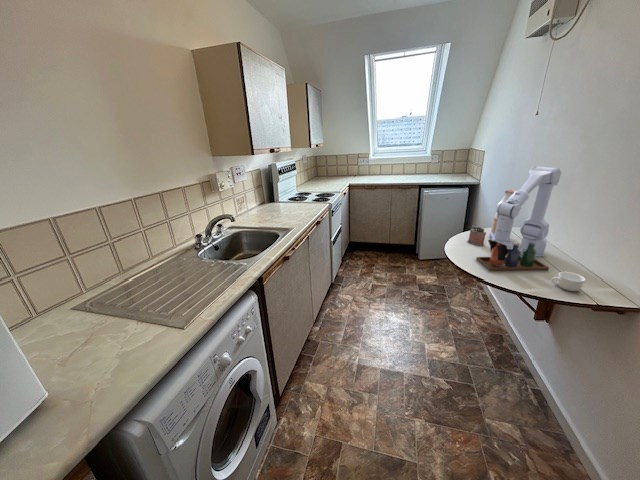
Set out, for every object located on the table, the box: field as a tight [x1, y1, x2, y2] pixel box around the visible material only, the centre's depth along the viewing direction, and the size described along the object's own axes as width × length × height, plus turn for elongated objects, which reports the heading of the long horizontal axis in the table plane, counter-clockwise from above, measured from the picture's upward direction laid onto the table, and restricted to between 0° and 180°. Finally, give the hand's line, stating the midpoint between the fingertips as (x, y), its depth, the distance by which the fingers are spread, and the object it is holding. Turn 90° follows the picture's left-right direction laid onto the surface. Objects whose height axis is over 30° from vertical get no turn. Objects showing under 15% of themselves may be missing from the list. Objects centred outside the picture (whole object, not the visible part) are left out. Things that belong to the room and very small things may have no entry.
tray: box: [475, 255, 550, 272], centre depth 124 cm, size 26×12×2 cm, turn 88°
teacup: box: [550, 271, 586, 292], centre depth 105 cm, size 10×8×5 cm
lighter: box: [467, 225, 487, 247], centre depth 147 cm, size 8×3×10 cm, turn 40°
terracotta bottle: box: [489, 242, 503, 265], centre depth 122 cm, size 5×5×10 cm
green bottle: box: [519, 243, 537, 267], centre depth 122 cm, size 5×5×10 cm
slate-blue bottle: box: [504, 242, 521, 267], centre depth 122 cm, size 5×5×10 cm
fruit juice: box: [490, 189, 516, 233], centre depth 150 cm, size 9×9×28 cm
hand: (496, 257), depth 123 cm, fingers closed on terracotta bottle, 5 cm apart
